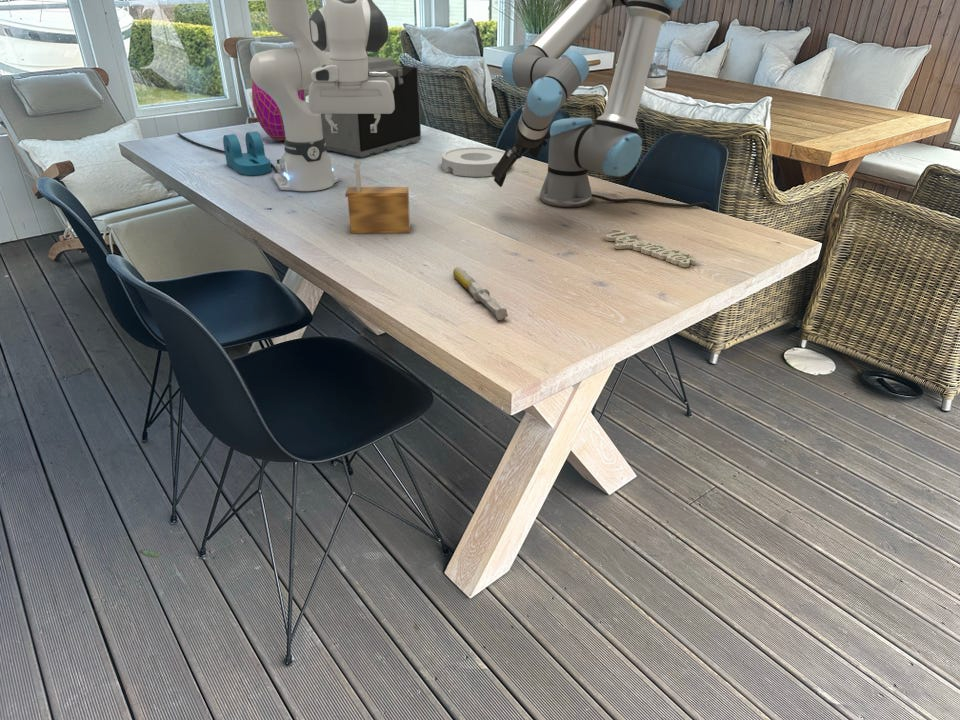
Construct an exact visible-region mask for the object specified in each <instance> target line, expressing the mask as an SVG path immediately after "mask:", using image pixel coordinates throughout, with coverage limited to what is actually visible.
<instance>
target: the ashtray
mask: <svg viewBox="0 0 960 720" xmlns="http://www.w3.org/2000/svg"><path fill="white" fill-rule="evenodd" d="M505 151H506V150H503V149H502V150H501V149H499V148H498V149H497V148H492V147H482V146H481V147H480V146H467V147H457V148H451V149H448V150H446V151H444V152H443V153H442V154H441V169H442V170H443V171H444V172H446V173H452V174H453V175H455V176H460V177H461V176H462V177H472V178H473V177H474V178H478V177H479V178H481V177H483V178H485V177H494V176H493V175H492V174H491V173H492V171H493V170H494V167H496V165H497V164H498V162H499V161H500V159H501V158H502V156H503V155H504V153H505ZM509 171H510V169H509V170H508V171H507V172H509Z"/></svg>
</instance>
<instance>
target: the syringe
mask: <svg viewBox="0 0 960 720" xmlns="http://www.w3.org/2000/svg"><path fill="white" fill-rule="evenodd" d="M452 274H453V277H454V279H455V280H457V281H458V282H459V283H460V285H462V287H464V289H466V290H467V291H468V293H470V295H471V296H472V298H473V300H474V302H477V303H478V302H480V303H482V304H483V305H484V306H485V307H486V308H487V309H488V310H489V311H490V312H491V313H492V314H493V315H494V316H495V317H496V320H497V321H503V320H504V319H506V318H507V317H509V314H508V310H507V308H506V307H502V306H501V305H500V303H498V302H497V301H496V300H494V299H493V298H492V297H491V296H490V295H491V293H490V290H488V289H486V288H483V287H482V286H481V285H480V284H479V283H478V282H477V281H476V280H474V278H473V277H471V275H469V274H468V273H467V272H466V270H465V269H464V268H463V267H462V266H456V267H454V268H453V271H452Z"/></svg>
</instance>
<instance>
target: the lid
mask: <svg viewBox="0 0 960 720" xmlns="http://www.w3.org/2000/svg"><path fill="white" fill-rule="evenodd" d="M361 165H362V162H361V160H359V159H356V160H354V162H353V165H352V167H353V169H354V171H355V184H356V186H347V188H346V190H345V196H344V197H347V198H348V197H395V196H408V192H409V186H362V182H361V169H360V168H361Z"/></svg>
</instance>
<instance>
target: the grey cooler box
mask: <svg viewBox="0 0 960 720" xmlns="http://www.w3.org/2000/svg"><path fill="white" fill-rule="evenodd" d="M368 71H369V72H388V74H391V75H392V76H393V77H394V80H395V89H394V91H393V95H394V103H395V110H394V111H393V112H392V113H391V114H381V117H380V120H379V122H378V124H377V133H371V131H370V130H371V129H370V125H371V124H374V123H375V121H376V119H377V118H374V114H332V117H331V119H332V121H333V122H334V124H338V133H332V132H331V126H330V124H329V123H328V122H327V120H326V119H325V114H321V120H322V130H323V137H324V138H325V142H326V150H325V151H330V152H335V153H340V154H344V155H348V156H353V157H357V158H362V159H363V158H366V157H367V158H368V157H369V155H371V154H375V155H377V154H381V153H382V152H383V151H391V150H395V149H396V148H397V147H405V146H407V145H408V144H416V143H418V142H419V141H421V137H422V128H421V97H420V92H419V91H420V89H419V68H418V67H417V66H408V65H400V64H396V62H395V60H394V59H393V58H385V57H377V56H368ZM379 77H381V76H379ZM388 77H391V76H389V75H388Z"/></svg>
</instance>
